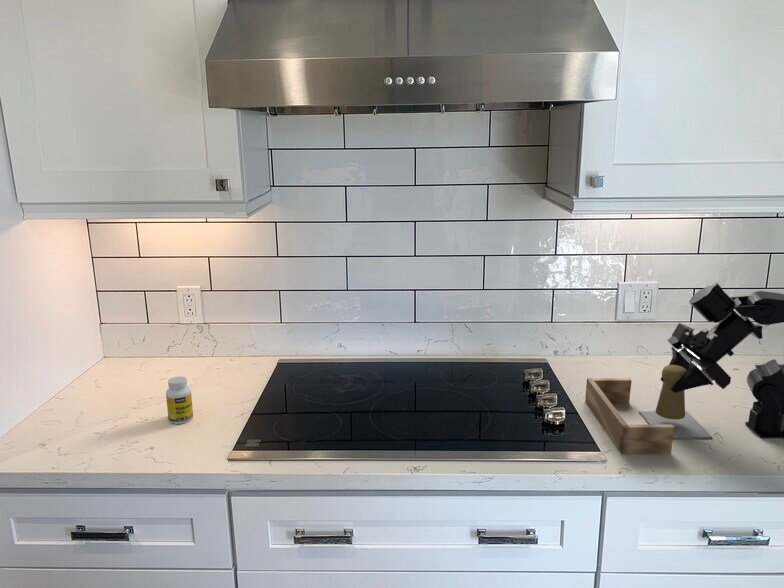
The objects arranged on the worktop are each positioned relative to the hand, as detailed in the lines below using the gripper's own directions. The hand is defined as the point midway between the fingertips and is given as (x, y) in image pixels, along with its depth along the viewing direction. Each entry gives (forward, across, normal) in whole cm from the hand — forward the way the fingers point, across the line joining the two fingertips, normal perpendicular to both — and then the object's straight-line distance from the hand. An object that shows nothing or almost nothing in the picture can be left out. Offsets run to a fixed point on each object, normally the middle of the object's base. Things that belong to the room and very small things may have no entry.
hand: (667, 386), depth 137 cm
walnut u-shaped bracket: (+13, 0, +1) cm, 13 cm away
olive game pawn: (+4, 0, +6) cm, 7 cm away
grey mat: (+5, 0, +9) cm, 10 cm away
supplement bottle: (+82, -4, -71) cm, 109 cm away
